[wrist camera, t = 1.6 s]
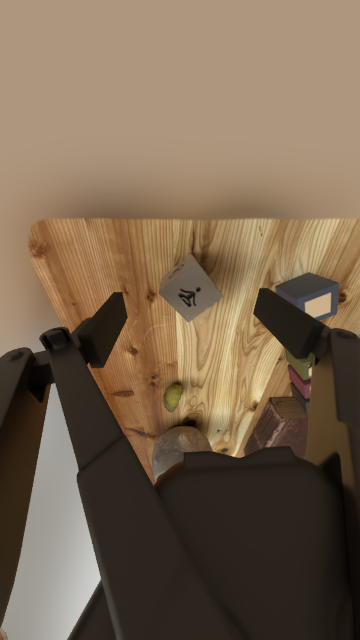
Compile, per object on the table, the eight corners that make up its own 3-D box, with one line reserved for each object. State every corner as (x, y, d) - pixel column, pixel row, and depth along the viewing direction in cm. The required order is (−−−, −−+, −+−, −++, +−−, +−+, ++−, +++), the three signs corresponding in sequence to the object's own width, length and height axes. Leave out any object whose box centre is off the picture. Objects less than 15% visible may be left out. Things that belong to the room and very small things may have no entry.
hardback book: (268, 397, 36) (281, 420, 32) (347, 394, 37) (370, 416, 32) (243, 450, 51) (249, 470, 47) (299, 447, 52) (310, 467, 48)
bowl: (217, 432, 44) (227, 481, 36) (172, 446, 48) (172, 494, 40) (191, 410, 38) (197, 464, 29) (142, 429, 42) (134, 481, 33)
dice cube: (161, 279, 21) (158, 292, 17) (190, 252, 19) (195, 260, 15) (185, 304, 23) (188, 322, 19) (213, 282, 21) (223, 296, 17)
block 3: (312, 357, 30) (333, 377, 26) (312, 371, 32) (332, 392, 28) (287, 365, 31) (304, 386, 27) (290, 378, 33) (305, 399, 29)
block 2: (311, 335, 27) (334, 354, 23) (312, 352, 29) (333, 372, 25) (284, 344, 28) (302, 364, 24) (287, 360, 30) (304, 381, 26)
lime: (181, 377, 31) (183, 401, 27) (186, 391, 34) (188, 415, 30) (160, 381, 32) (158, 405, 28) (166, 395, 34) (165, 419, 30)
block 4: (312, 376, 33) (331, 396, 29) (313, 387, 35) (331, 408, 31) (290, 382, 34) (306, 403, 30) (292, 393, 36) (307, 414, 32)
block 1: (308, 272, 21) (339, 282, 17) (309, 299, 23) (337, 314, 19) (275, 286, 22) (297, 299, 18) (279, 311, 24) (299, 328, 20)
